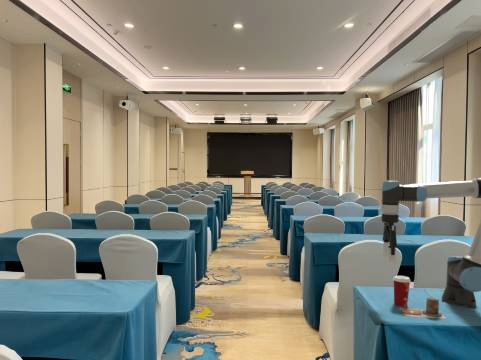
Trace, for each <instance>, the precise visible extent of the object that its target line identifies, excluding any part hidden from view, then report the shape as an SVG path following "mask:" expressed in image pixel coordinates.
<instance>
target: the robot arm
mask: <svg viewBox="0 0 481 360" xmlns="http://www.w3.org/2000/svg"><path fill="white" fill-rule="evenodd" d="M464 197H465V198H467V197H472V198H473V199H481V177H478V178H472V179H471V180H460V181H459V180H457V181H447V182H446V181H444V182H442V181H441V182H424V183H421V182H420V183H411V184H410V183H402V184H400V181H399V180H384V181H383V182H382V188H381V206H380V209H381V213H382V214H381V222H383V235H382V240H383V241H382V242H383V243H382V244H383V247H382V249H383V251H382V252H383V253H382V254H383V255H382V256H383V257H388V263H396V254H397V252H396V251H397V247H398V244H397V243H398V242H397V226H396V225H395V224H397V223H398V222H399V217H400V215H399V212H400V211H399V210H400V202H417V203H420V202H421V203H422V202H426V200H427V199H444V198H445V199H446V198H447V199H449V198H464ZM446 264H447V265H446V266H447V267H446V281H445V282H446V285H445V288H444V290H443V293H442V294H441V302H442V303H448V304H452V305H456V306H463V307H466V308H468V309H472V308H475V307H476V308H477V300H476V295H475V293H478V292H481V220H480V222H479V224H478V227H477V229H476V232H475V234H474V237H473V240H472V243H471V245H470V247H469V250H468V253H467V254H465V255H464V256H461V255H460V256H459V255H457V256H456V255H449V256H448V258H447V262H446Z"/></svg>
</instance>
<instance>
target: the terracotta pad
mask: <svg viewBox="0 0 481 360" xmlns="http://www.w3.org/2000/svg"><path fill="white" fill-rule="evenodd" d="M403 308H404V309H402V311H401V313H403V312H404V313H406V314H409V315H421V314H422V312H421V311H419V310H416V309H417V308H410V307H409V308H408V307H407V308H406V307H403Z"/></svg>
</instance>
